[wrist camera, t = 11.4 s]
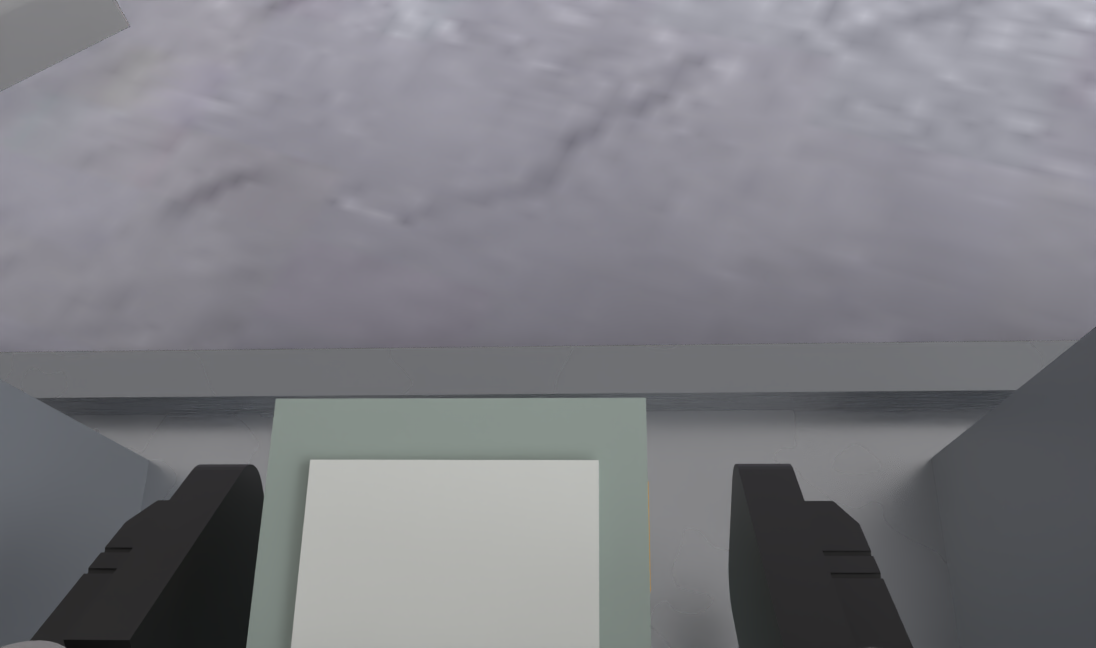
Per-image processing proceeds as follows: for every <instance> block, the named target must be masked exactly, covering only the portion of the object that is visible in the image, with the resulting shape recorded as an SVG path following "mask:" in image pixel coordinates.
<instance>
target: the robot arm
mask: <svg viewBox="0 0 1096 648" xmlns="http://www.w3.org/2000/svg"><path fill="white" fill-rule="evenodd" d="M263 502H264V492H263V487H262V481H261V477H260V474H259V471H258V469H257V468H256V467H255V466H254V465H252V464H200V465H197V466H196V467H194V469H193V470H192V471H191V472H190V473H189V475H188V476H187V477H186V479H185V480H184V481H183V483H182V484H181V485H180V487H179V488H178V489H177V491H176V492H175V493H174V495H173V496H172V497H171V498H170V500H157V501H156V502H154V503H153V504H151V505H150V506H148V507H147V508H145V509H144V510H143V511H141V512H140V513H138V514H137V515H135V516H134V517H132V518H131V519H129V520H128V521H126V522H125V523H124V524H123V526H122V527H121V528H120V529H119V531H118V532H117V533H116V534H115V535H114V537H113V538H112V539H111V540H110V542H109V543H108V544H107V545H106V547H105V552H101V553H100V554H99V555H98V557H97V558H96V559H95V560H94V562H93V563H92V564H91V565H90V566H89V568H88V573H87V574H83V575H82V576H81V578H80V579H79V580H78V581H77V583H76V584H75V585H74V586H73V588H72V589H71V590H70V591H69V592H68V594H67V595H66V596H65V597H64V599H63V600H62V601H61V602H60V604H59V605H58V606H57V607H56V609H55V610H54V611H53V612H52V614H51V615H50V616H49V617H48V618H47V620H46V621H45V622H44V623H43V625H42V626H41V627H40V628H39V630H38V631H37V632H36V633H35V635H34V636H33V637H32V638H31V640H30V641H24V642H18V643H14V644H10V645H6V646H3V647H0V648H246V645H247V637H248V628H249V620H250V611H251V603H252V595H253V586H254V578H255V569H256V561H257V552H258V544H259V536H260V527H261V519H262V510H263ZM728 573H729V592H730V602H731V609H732V614H733V619H734V624H735V630H736V635H737V640H738V645H739V648H913V646H912V644H911V641H910V639H909V637H908V634H907V632H906V630H905V627H904V625H903V623H902V621H901V618H900V616H899V614H898V611H897V609H896V607H895V604H894V602H893V600H892V598H891V595H890V593H889V591H888V588H887V586H886V584H885V581H884V579H883V578H881V572H880V570H879V568H878V565H877V563H876V561H875V558H874V556H871V549H870V547H869V545H868V542H867V540H866V538H865V535H864V533H863V531H862V529H861V526H860V524H859V523H858V522H857V521H856V520H854V519H853V518H852V517H851V516H850V515H849V514H848V513H846V512H845V511H844V510H843V509H842V508H841V507H840V506H839V505H837V504H836V503H835V502H834V501H805V500H804V497H803V495H802V492H801V489H800V486H799V483H798V481H797V478H796V475H795V472H794V469H793V467H792V465H791V464H735V465H734V468H733V476H732V494H731V516H730V538H729V561H728Z"/></svg>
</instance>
